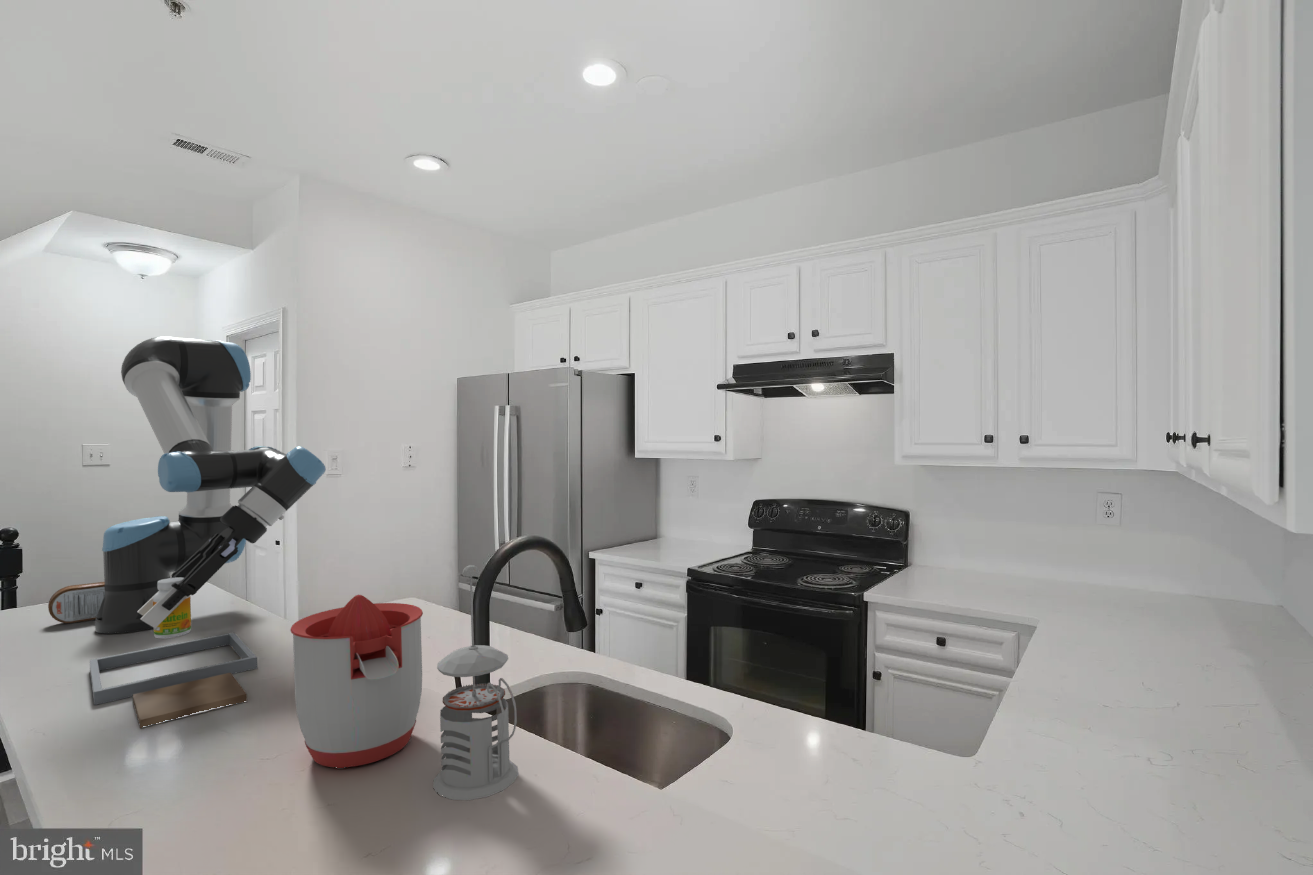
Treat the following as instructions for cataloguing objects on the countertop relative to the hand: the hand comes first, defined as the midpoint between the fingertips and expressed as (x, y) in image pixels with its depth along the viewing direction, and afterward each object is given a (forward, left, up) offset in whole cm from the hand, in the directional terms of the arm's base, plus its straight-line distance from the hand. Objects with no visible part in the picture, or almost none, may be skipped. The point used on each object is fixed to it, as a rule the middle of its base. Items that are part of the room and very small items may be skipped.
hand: (146, 619), depth 114 cm
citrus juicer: (+36, +47, -10) cm, 60 cm away
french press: (+46, +63, -10) cm, 78 cm away
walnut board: (+14, +14, -10) cm, 22 cm away
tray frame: (-2, +3, -10) cm, 10 cm away
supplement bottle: (-2, +3, -4) cm, 5 cm away
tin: (-43, -37, -10) cm, 58 cm away
